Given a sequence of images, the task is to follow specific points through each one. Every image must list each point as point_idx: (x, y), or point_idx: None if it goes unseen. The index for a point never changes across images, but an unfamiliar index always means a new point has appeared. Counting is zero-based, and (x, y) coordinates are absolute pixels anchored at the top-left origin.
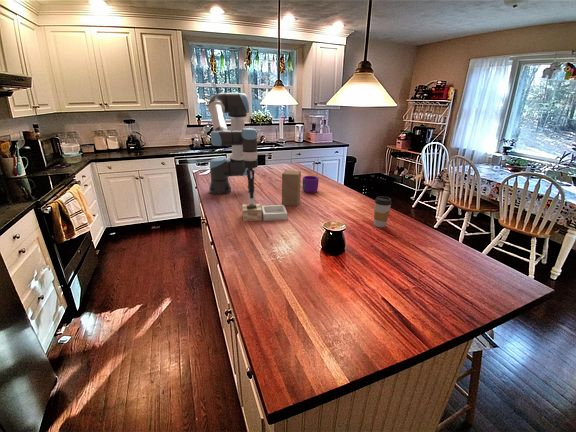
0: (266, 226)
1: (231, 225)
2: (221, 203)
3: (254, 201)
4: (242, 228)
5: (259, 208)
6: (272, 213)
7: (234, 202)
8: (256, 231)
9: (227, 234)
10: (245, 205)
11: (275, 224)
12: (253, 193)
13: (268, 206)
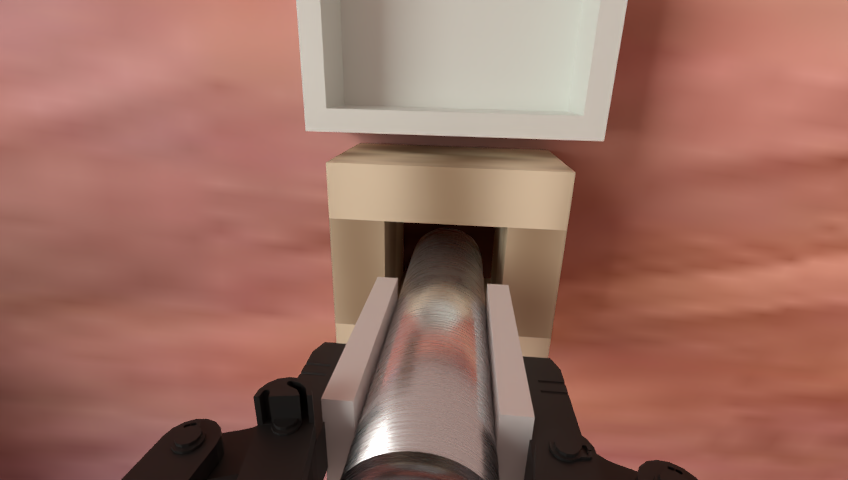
0: (728, 122)
1: (591, 405)
2: (114, 431)
3: (457, 282)
4: (684, 338)
5: (514, 193)
6: (612, 14)
7: (76, 341)
8: (804, 234)
9: (753, 443)
10: None
11: (715, 7)
12: (526, 403)
13: (323, 34)
